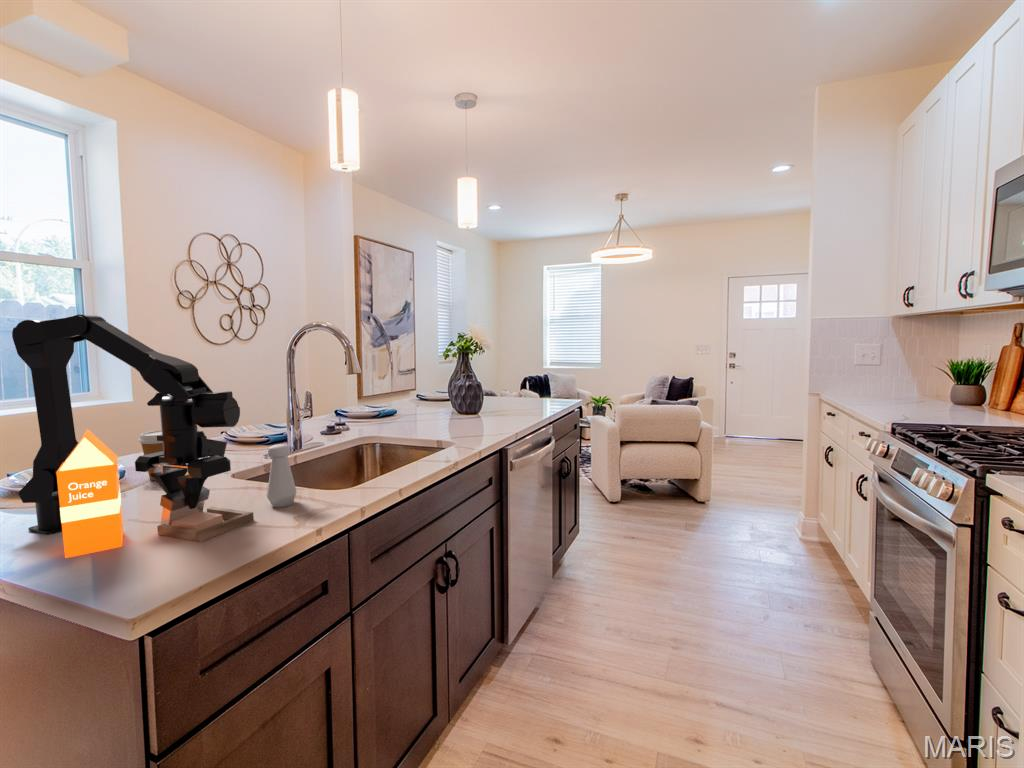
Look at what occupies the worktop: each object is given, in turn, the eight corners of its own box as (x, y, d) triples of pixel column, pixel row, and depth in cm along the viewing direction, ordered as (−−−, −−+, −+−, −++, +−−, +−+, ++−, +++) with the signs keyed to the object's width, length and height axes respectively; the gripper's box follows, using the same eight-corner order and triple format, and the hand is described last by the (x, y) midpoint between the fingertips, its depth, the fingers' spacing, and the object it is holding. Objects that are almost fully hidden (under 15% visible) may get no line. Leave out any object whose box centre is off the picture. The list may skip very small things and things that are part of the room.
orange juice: (63, 558, 83) (51, 439, 82) (70, 541, 90) (59, 431, 89) (123, 546, 88) (113, 433, 86) (124, 531, 95) (115, 426, 93)
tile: (171, 531, 96) (170, 521, 95) (200, 520, 101) (200, 511, 101) (194, 534, 93) (193, 525, 93) (223, 523, 99) (222, 514, 99)
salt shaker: (285, 509, 106) (281, 448, 105) (261, 508, 107) (257, 447, 106) (302, 500, 111) (299, 442, 110) (279, 499, 113) (275, 442, 111)
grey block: (157, 523, 96) (161, 495, 95) (194, 510, 103) (199, 484, 102) (168, 530, 95) (172, 501, 94) (205, 516, 102) (209, 489, 101)
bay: (157, 534, 93) (157, 526, 93) (212, 514, 103) (212, 506, 103) (201, 541, 89) (200, 533, 89) (253, 520, 100) (253, 512, 99)
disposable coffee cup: (169, 482, 129) (166, 435, 127) (132, 482, 129) (128, 436, 128) (193, 472, 138) (190, 429, 137) (159, 472, 138) (155, 429, 137)
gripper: (251, 423, 101) (256, 499, 102) (185, 419, 107) (190, 491, 109) (200, 433, 90) (206, 518, 92) (129, 428, 97) (136, 507, 98)
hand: (186, 507), depth 98 cm, fingers closed on grey block, 3 cm apart
